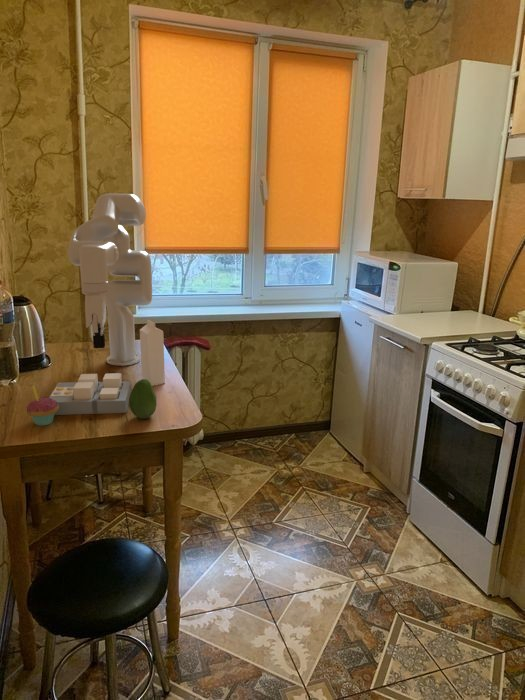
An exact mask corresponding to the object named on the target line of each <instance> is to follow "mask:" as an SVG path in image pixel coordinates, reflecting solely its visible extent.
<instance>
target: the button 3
mask: <svg viewBox="0 0 525 700" xmlns="http://www.w3.org/2000/svg"><path fill="white" fill-rule="evenodd" d="M122 380H123V379H122V373H121V372H120V373H119V372H116V373H113V372H112V373H111V372H110V373H105V374H104V376H103V378H102V382H103V387H104V388H119V390H121V389H122Z"/></svg>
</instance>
